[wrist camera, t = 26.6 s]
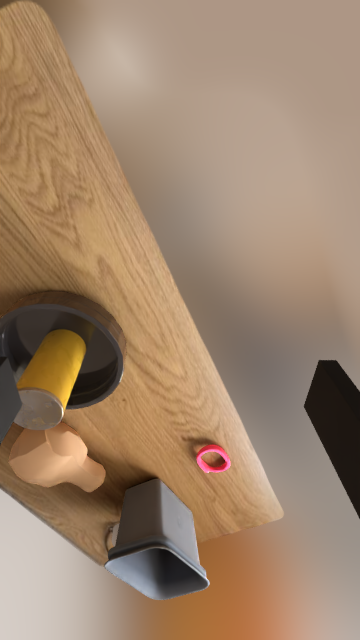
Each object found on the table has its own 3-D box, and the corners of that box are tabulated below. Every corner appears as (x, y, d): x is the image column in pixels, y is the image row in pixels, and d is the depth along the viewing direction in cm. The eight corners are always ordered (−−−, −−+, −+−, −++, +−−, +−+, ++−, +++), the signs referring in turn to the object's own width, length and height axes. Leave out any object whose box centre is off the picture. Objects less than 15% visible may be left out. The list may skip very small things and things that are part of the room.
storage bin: (207, 513, 74) (215, 588, 61) (151, 531, 77) (148, 606, 64) (163, 465, 64) (163, 543, 51) (101, 488, 67) (86, 567, 54)
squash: (50, 398, 53) (45, 442, 46) (119, 448, 65) (124, 489, 57) (1, 431, 54) (-12, 478, 47) (77, 474, 66) (77, 518, 58)
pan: (125, 291, 44) (121, 306, 40) (128, 390, 53) (125, 410, 49) (-12, 286, 42) (-30, 301, 38) (16, 388, 52) (4, 408, 48)
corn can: (84, 329, 46) (58, 390, 35) (88, 364, 49) (65, 430, 38) (39, 328, 45) (-2, 389, 34) (46, 363, 49) (11, 430, 37)
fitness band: (190, 450, 62) (191, 457, 60) (216, 440, 60) (217, 446, 59) (209, 471, 65) (210, 478, 64) (234, 461, 64) (235, 468, 63)
